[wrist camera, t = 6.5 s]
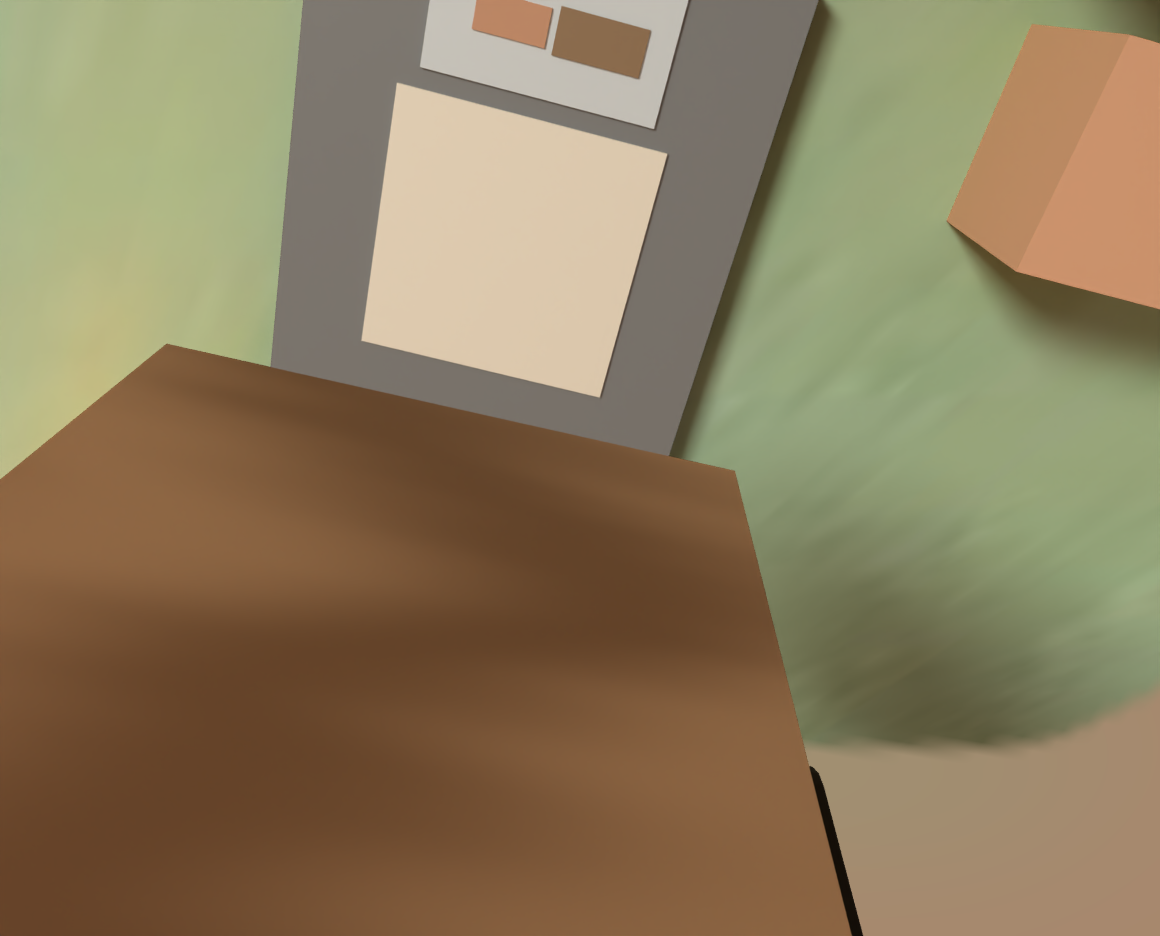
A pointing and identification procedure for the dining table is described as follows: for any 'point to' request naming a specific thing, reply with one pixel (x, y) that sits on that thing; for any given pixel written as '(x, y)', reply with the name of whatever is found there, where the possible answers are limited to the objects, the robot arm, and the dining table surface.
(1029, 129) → the terracotta block
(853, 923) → the robot arm
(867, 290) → the dining table surface
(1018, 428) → the dining table surface
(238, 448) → the walnut cube
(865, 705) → the dining table surface
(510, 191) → the board
